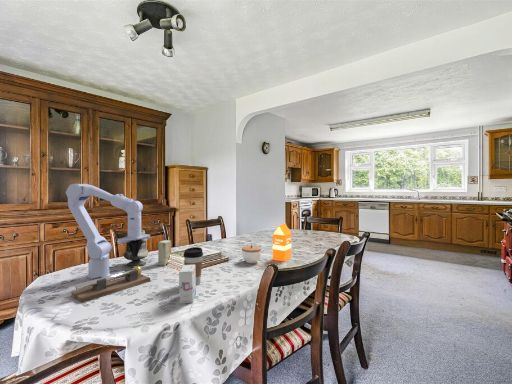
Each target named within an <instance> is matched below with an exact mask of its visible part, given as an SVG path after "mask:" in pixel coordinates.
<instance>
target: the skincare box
mask: <svg viewBox="0 0 512 384" xmlns="http://www.w3.org/2000/svg"><path fill="white" fill-rule="evenodd" d="M157 249H158V250H157V251H158V254H157V257H158V258H157V261H158V262H157V263H158V264H157V265H158V266H167V265H168V264H167V262H168V260H169V258H170V254H171V255H172V240H169V239H168V240H167V239H164V240H161V241H158V245H157ZM166 264H167V265H166Z"/></svg>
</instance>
